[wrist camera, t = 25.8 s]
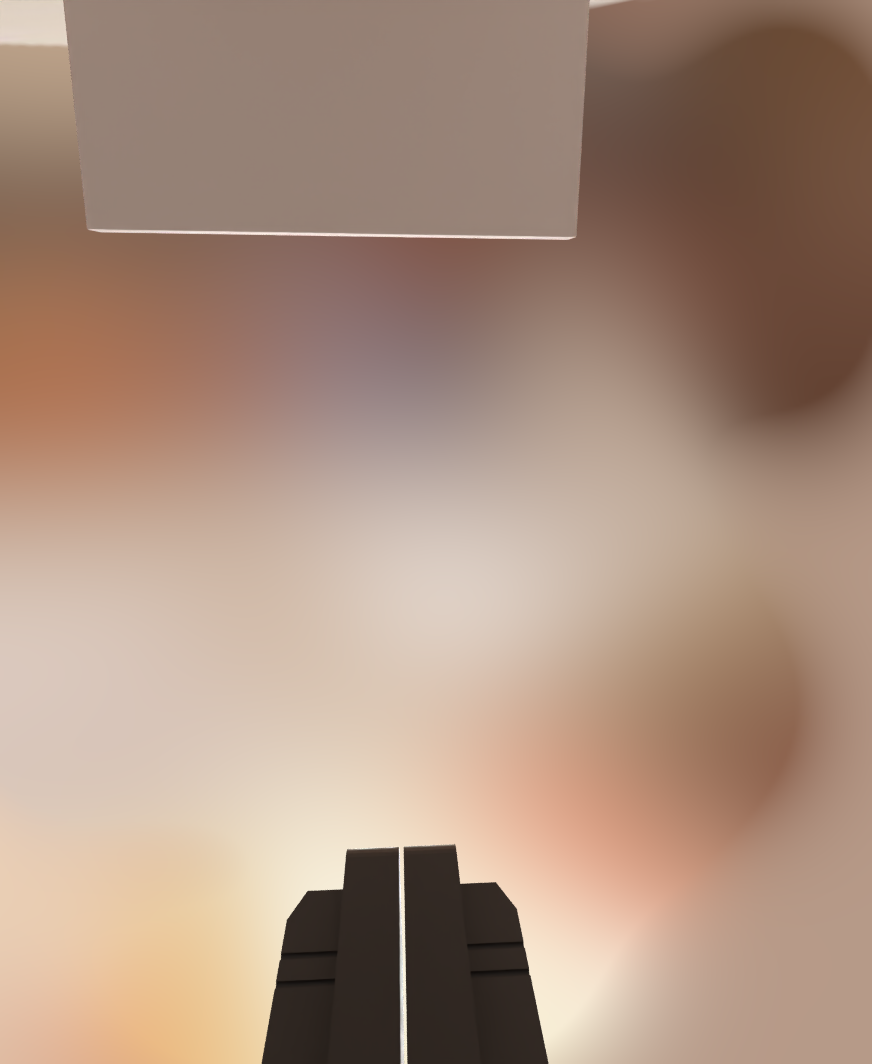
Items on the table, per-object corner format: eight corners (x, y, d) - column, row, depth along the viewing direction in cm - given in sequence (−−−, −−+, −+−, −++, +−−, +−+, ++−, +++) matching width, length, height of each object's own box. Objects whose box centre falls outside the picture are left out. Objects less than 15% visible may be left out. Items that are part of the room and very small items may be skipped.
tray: (166, -46, 28) (188, 251, 31) (36, -255, 17) (87, 229, 20) (519, -33, 29) (509, 256, 32) (602, -224, 18) (576, 236, 21)
